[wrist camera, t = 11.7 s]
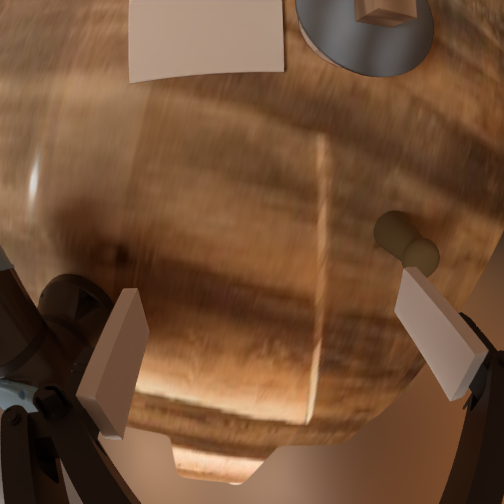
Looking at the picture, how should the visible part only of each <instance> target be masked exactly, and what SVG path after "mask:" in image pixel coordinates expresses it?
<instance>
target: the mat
mask: <svg viewBox="0 0 504 504" xmlns="http://www.w3.org/2000/svg"><path fill="white" fill-rule="evenodd" d="M240 72H284V45H283V16H282V0H129V81H130V84H132V83H138V82H144V81H150V80H158V79H165V78H173V77H182V76H192V75H204V74H218V73H240Z"/></svg>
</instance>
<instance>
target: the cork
mask: <svg viewBox="0 0 504 504" xmlns="http://www.w3.org/2000/svg"><path fill="white" fill-rule="evenodd" d="M374 237H375V240H376V242H377V243H378V244H379V245H380V246H381V247H383V248H384V249H385V250H387V251H388V252H390V253H391V254H392V255H394V256H395V257H396V258H398V259H399V260H400V261H402V264H403V268H407V267H417V268H418V269H419V270H420V271H421V272H422V274H423V275H424V276H425V277H428V276H430V275H431V274H432V273H433V272H434V271H435V270H436V268H437V267H438V264H439V259H440V255H439V250H438V248H437V247H436V245H435V244H434V243H433V242H432V241H430V240H429V239H426V238H422V236H421V235H420V234H419V232H418V231H417V230H416V229H415V227H414V226H413V225H412V224H411V222H410V221H409V220H408V219H407V217H406V216H405V215H404V214H403V213H401V212H399V211H389V212H387V213H385V214H384V215H382V216H381V217H380V218H379V220H378V221H377V223H376V225H375V228H374Z"/></svg>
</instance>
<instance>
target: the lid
mask: <svg viewBox="0 0 504 504" xmlns="http://www.w3.org/2000/svg"><path fill="white" fill-rule="evenodd" d="M295 5H296V12H297V15H298V19H299V21H300V24H301V26H302V28H303V30H304V32H305V33H306V35H307V36H308V38H309V39H310V41H311V42H312V43H313V44H314V45H315V47H316V48H317V49H318V50H319V51H320V52H321V53H323V54H324V55H325V56H326V57H327V58H329V59H330V60H331V61H333V62H334V63H336V64H337V65H339V66H341V67H343V68H345V69H347V70H349V71H351V72H354V73H357V74H360V75H365V76H370V77H390V76H396V75H401V74H403V73H406V72H408V71H410V70H412V69H414V68H415V67H416V66H418V65H419V64H420V63H421V62H422V61H423V60H424V59H425V57H426V55H427V54H428V52H429V50H430V48H431V44H432V41H433V34H434V25H433V18H432V14H431V10H430V7H429V5H428V2H427V0H295Z"/></svg>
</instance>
